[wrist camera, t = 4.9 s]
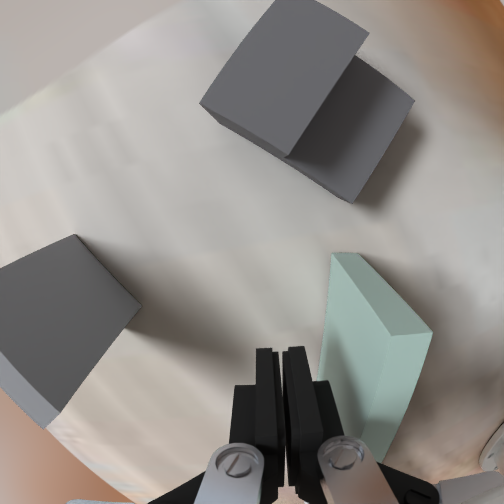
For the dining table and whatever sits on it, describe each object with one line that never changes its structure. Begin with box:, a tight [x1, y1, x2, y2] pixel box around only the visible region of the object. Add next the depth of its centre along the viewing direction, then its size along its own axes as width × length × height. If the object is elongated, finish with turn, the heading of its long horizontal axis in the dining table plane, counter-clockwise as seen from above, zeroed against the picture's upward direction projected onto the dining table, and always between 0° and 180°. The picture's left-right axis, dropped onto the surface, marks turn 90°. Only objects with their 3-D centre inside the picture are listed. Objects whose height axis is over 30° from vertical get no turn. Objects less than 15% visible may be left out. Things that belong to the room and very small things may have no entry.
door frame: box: [0, 234, 142, 429], centre depth 12 cm, size 26×2×8 cm, turn 43°
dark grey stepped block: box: [199, 0, 415, 204], centre depth 10 cm, size 6×5×4 cm
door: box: [304, 253, 433, 504], centre depth 12 cm, size 15×1×7 cm, turn 0°
